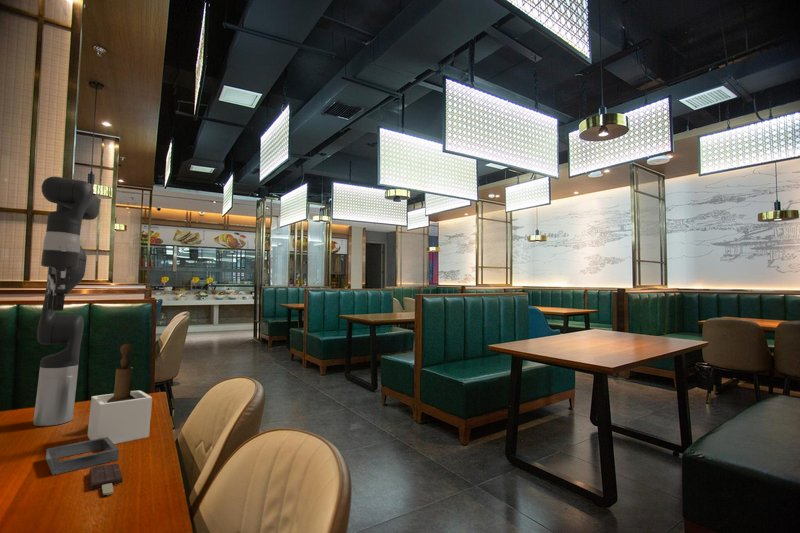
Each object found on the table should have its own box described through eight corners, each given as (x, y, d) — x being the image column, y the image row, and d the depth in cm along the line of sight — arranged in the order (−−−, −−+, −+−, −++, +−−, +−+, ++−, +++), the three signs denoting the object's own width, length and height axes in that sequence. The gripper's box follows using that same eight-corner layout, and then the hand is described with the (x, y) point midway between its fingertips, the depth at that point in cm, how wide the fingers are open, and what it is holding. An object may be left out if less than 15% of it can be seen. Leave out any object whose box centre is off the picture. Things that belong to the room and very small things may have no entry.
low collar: (45, 459, 93) (46, 448, 94) (106, 446, 102) (107, 437, 102) (52, 475, 85) (53, 463, 86) (117, 460, 94) (118, 449, 94)
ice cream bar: (124, 494, 79) (117, 468, 90) (124, 485, 79) (118, 461, 90) (91, 502, 75) (89, 474, 87) (92, 493, 76) (89, 467, 87)
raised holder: (87, 436, 109) (91, 396, 111) (136, 426, 118) (140, 390, 119) (96, 447, 101) (100, 404, 102) (148, 436, 110) (152, 397, 111)
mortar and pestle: (102, 411, 107) (108, 345, 108) (112, 405, 113) (118, 342, 115) (129, 410, 108) (135, 345, 110) (138, 404, 115) (144, 342, 116)
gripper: (39, 250, 107) (32, 309, 105) (47, 246, 97) (39, 311, 96) (74, 253, 112) (68, 309, 111) (84, 250, 103) (78, 311, 102)
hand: (54, 310), depth 103 cm, fingers open, 8 cm apart
